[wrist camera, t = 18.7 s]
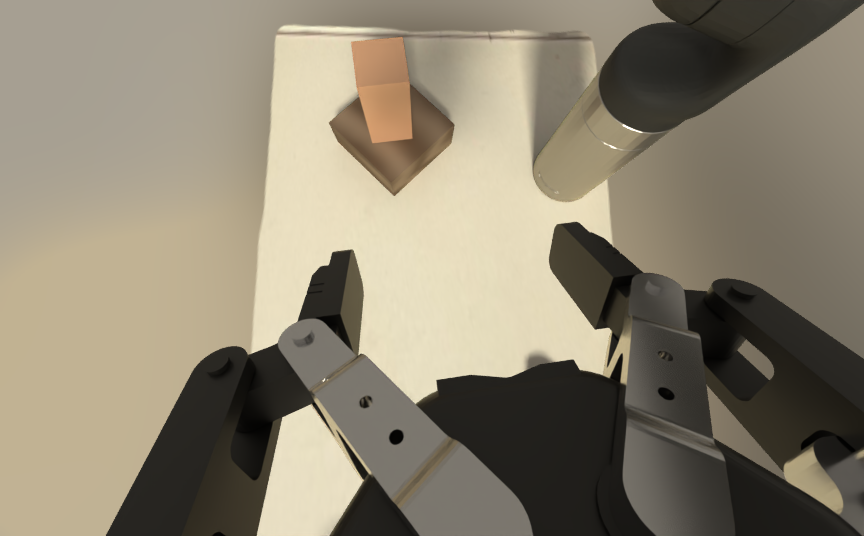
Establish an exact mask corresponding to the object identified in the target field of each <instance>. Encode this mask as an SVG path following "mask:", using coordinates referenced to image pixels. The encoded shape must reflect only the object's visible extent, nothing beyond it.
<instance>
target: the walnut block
mask: <svg viewBox="0 0 864 536" xmlns="http://www.w3.org/2000/svg"><path fill="white" fill-rule="evenodd" d="M410 100H411V120H412V139H406V140H397V141H389V142H380V143H372V140H371V136H370V133H369V129H368V126H367V122H366V119H365V115H364V111H363V108H362V104H361V101H360V97H359V98H357V99H356V100H355V101H354V102H353V103H352V104H350V105H349V106H348V107H347V108H346V109H344V110H343V111H342V112H341V113H340V114H339V115H337V116H336V117H335V118H334V119H333V120H332V121H330V122H329V124H330V126H331V128H332V130H333V132H334V134H335V136H336V139H337V141H338V142H339V143H340V144H341V145H342V146H343V147H344V148H345V149H346V150H347V151H348V152H349V153H350V154H351V155H352V156H353V157H354V158H355V159H356V160H357V161H358V162H359V163H361V164H362V165H363V166H364V167H365V168H366V169H367V170H368V171H369V172H370V173H371V174H372V175H373V176H374V177H375V178H376V179H377V180H378V181H379V182H380V183H381V184H382V185H383V186H384V187H385V188H386V189H387V190H389V191H390V192H391V193H392V194H393V195H394V196H395V195H396V194H397V193H398V192H399V191H400V190H401V189H403V188H404V187H405V186H406V185H407V184H408V183H409V182H410V181H411V180H412V179H413V178H414V177H415V176H417V175H418V174H419V173H420V172H421V171H422V170H423V169H424V168H425V167H426V166H427V165H428V164H429V163H431V162H432V161H433V160H434V159H435V158H436V157H437V156H438V155H439V154H440V153H441V152H442V151H443V150H445V149H446V148H447V147H448V146H449V145H450V144H451V142H452V136H453V130H454V124H453V123H452V122H451V121H450V120H449V119H448V118H447V117H446V116H445V115H444V114H442V113H441V112H440V111H439V110H438V109H437V108H436V107H435V106H434V105H433V104H431V103H430V102H429V101H428V100H427V99H426V98H425V97H424V96H423V95H422V94H421V93H419V92H418V91H417V90H416V89H415V88H414V87H413V86H412V85H411V84H410Z"/></svg>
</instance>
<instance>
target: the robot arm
mask: <svg viewBox="0 0 864 536" xmlns="http://www.w3.org/2000/svg"><path fill="white" fill-rule="evenodd" d="M653 3H654V4H655V6H656V7H657V8H658V9H659V10H660V11H661V12H662V13H664V14H665V15H666V16H667V17H669V18H670V19H672V20H674V21H676V22H668V23H667V22H666V23H656V24H651V25H647V26H644V27H641V28H639V29H637V30H635V31H634V32H632V33H631V34H629V35H628V36H627V37H626V38H624V39H623V40H622V41H621V42H620V43H619V45H618V46H617V47H616V48H615V50H614V51H613V53H612V54H611V55H610V56H609V58H608V59H607V61H606V62H605V64H604V65H603V67H602V68H601V69H600V71H599V72H598V73H597V75H596V76H595V77H594V79H593V80H592V82H591V83H590V84H589V86H588V87H587V89H586V90H585V92H584V93H583V94H582V96H581V97H580V98H579V100H578V101H577V103H576V104H575V105H574V107H573V108H572V109H571V111H570V112H569V114H568V115H567V116H566V118H565V119H564V121H563V122H562V123H561V125H560V126H559V127H558V129H557V130H556V132H555V133H554V134H553V136H552V137H551V138H550V140H549V141H548V142H547V144H546V145H545V147H544V148H543V149H542V151H541V152H540V154H539V155H538V156H537V158H536V160H535V163H534V167H533V174H534V179H535V181H536V184H537V186H538V187H539V188H540V190H541V191H542V192H543V193H544V194H545V195H547V196H548V197H550V198H552V199H554V200H557V201H562V202H571V201H575V200H578V199H580V198H582V197H583V196H584V195H586V194H587V193H588V192H590V191H591V190H592V189H594V188H595V187H597V186H598V185H599V184H601V183H602V182H603V181H605V180H606V179H607V178H609V177H610V176H611V175H613V174H614V173H615V172H617V171H618V170H620V169H621V168H622V167H624V166H625V165H626V164H628V163H629V162H630V161H632V160H633V159H634V158H636V157H637V156H638V155H639V154H641V153H642V152H644V151H645V150H646V149H648V148H649V147H650V146H652V145H653V144H654V143H656V142H657V141H658V140H659V139H661V138H662V137H663V136H665V135H666V134H667V133H669V132H670V131H671V130H673V129H674V128H676V127H677V126H678V125H679V124H681V123H682V122H683V121H685V120H687V119H690V118H693V117H695V116H698V115H700V114H702V113H703V112H705V111H707V110H708V109H710V108H712V107H713V106H715V105H716V104H717V103H719V102H720V101H722V100H723V99H725V98H726V97H728V96H729V95H731V94H732V93H734V92H735V91H737V90H738V89H740V88H741V87H743V86H744V85H746V84H747V83H749V82H750V81H752V80H753V79H755V78H756V77H758V76H759V75H761V74H762V73H764V72H765V71H767V70H769V69H770V68H772V67H773V66H775V65H776V64H778V63H779V62H781V61H782V60H784V59H786V58H787V57H789V56H790V55H792V54H793V53H795V52H796V51H798V50H799V49H801V48H802V47H803V46H805V45H807V44H808V43H810V42H811V41H813V40H814V39H816V38H817V37H818V36H820V35H821V34H823V33H824V32H826V31H827V30H829V29H830V28H831V27H833V26H834V25H835V24H837V23H838V22H840V21H841V20H842V19H844V18H845V17H846V16H848V15H849V14H850V13H852V12H853V11H854V10H855V9H857V8H858V7H860V6H861V5H862V4H863V3H864V0H653ZM549 264H550V268H551V270H552V272H553V274H554V275H555V276H556V278H557V279H558V280H559V282H560V283H561V284H562V286H563V287H564V288H565V290H566V291H567V292H568V294H569V295H570V296H571V298H572V299H573V301H574V302H575V303H576V305H577V306H578V307H579V309H580V310H581V311H582V313H583V314H584V315H585V317H586V318H587V319H588V321H589V322H590V324H591V325H592V326H593V328H594V329H602V328H610V329H611V333H610V336H609V340H608V346H607V352H606V358H605V365H604V371H603V375H600V374H596V373H593V372H588V371H583V370H579V368H578V366H577V365H576V363H575V361H574V360H566V361H560V362H553V363H546V364H540V365H538V366H535V367H533V368H531V369H528V370H526V371H524V372H521V373H519V374H517V375H515V376H512V377H508V378H503V377H491V376H478V375H467V376H460V377H454V378H447V379H441V380H436V381H437V390H438V391H436V392H434V393H432V394H430V395H428V396H426V397H425V398H423V399H422V400H420V401H419V402H418V403H416V404H415V403H414V402H412V401H411V400H410V399H409V398H408V397H407V396H406V395H405V394H404V393H403V392H402V391H401V390H400V389H399V388H398V387H397V386H396V385H395V384H394V383H393V382H392V381H391V380H390V379H389V378H388V377H387V376H386V375H385V374H384V373H383V372H382V371H381V370H380V369H379V368H378V367H377V366H376V365H375V364H374V363H373V362H372V361H371V360H370V359H369V358H368V357H367V356H365V355H364V354H360V355H359V356H358V352H359V341H360V330H361V319H362V308H363V297H364V292H363V284H362V279H361V276H360V272H359V268H358V264H357V260H356V257H355V253H354V251H353V250H344V251H336V252H333V253H332V256H331V260H330V264H329V265H328V266H321V267H320V268H319V269H318V270H317V271H316V272H315V273H314V274H313V275H312V278H311V281H310V284H309V286H310V287H308V291H307V295H306V297H305V300H304V303H303V306H302V309H301V312H300V315H299V318H298V322H296V323H294V324H293V325H291V326H289V327H288V328H287V329H286V330H285V331H284V332H283V333H282V334H281V336H280V338H279V341H278V343H277V344H275V345H273V346H271V347H268V348H266V349H263V350H260V351H258V352H255V353H252V354H250V355H248V354H247V352H246V351H245V350H244V349H243V348H241V347H237V346H231V347H226V348H222V349H220V350H217V351H215V352H213V353H211V354H210V355H208V356H207V357H205V358H204V359H203V360H202V361H201V362H200V363H199V364H198V365H197V366H196V367H195V368H194V370H193V372H192V373H191V375H190V377H189V379H188V381H187V383H186V385H185V387H184V389H183V391H182V392H181V394H180V396H179V398H178V400H177V402H176V404H175V406H174V408H173V409H172V411H171V413H170V415H169V417H168V419H167V421H166V423H165V425H164V426H163V428H162V430H161V432H160V434H159V436H158V438H157V440H156V442H155V444H154V446H153V447H152V449H151V451H150V453H149V455H148V457H147V459H146V461H145V462H144V464H143V467H142V468H141V470H140V472H139V474H138V476H137V478H136V480H135V481H134V483H133V485H132V487H131V489H130V491H129V493H128V495H127V497H126V498H125V500H124V502H123V504H122V506H121V508H120V510H119V512H118V514H117V516H116V517H115V519H114V521H113V523H112V525H111V527H110V529H109V531H108V533H107V534H106V536H257V531H258V526H259V522H260V517H261V513H262V508H263V504H264V499H265V494H266V490H267V485H268V481H269V476H270V472H271V467H272V462H273V458H274V453H275V449H276V444H277V439H278V435H279V430H280V426H281V421H282V417H284V416H286V415H288V414H290V413H293V412H295V411H297V410H299V409H301V408H304V407H306V406H308V405H310V404H311V406H312V407H313V409H314V410H315V411H316V413H317V414H318V416H319V417H320V419H321V420H322V422H323V423H324V424H325V426H326V427H327V429H328V430H329V432H330V433H331V434H332V436H333V437H334V439H335V440H336V442H337V443H338V445H339V446H340V448H341V449H342V451H343V452H344V454H345V456H346V457H347V459H348V460H349V462H350V464H351V465H352V467H353V468H354V470H355V471H356V472H357V474H358V475H359V477H360V478H361V480H362V481H363V483H362V485H361V486H360V488H359V489H358V491H357V493H356V494H355V496H354V497H353V499H352V501H351V502H350V504H349V505H348V507H347V509H346V510H345V512H344V513H343V515H342V517H341V518H340V520H339V521H338V523H337V525H336V526H335V528H334V529H333V531H332V533H331V534H330V536H864V359H863V358H861V357H860V356H859V355H857V354H856V353H854V352H853V351H851V350H850V349H848V348H847V347H846V346H844V345H843V344H841V343H840V342H838V341H837V340H835V339H834V338H833V337H831V336H829V335H828V334H827V333H825V332H824V331H822V330H821V329H819V328H818V327H817V326H815V325H814V324H812V323H811V322H809V321H808V320H806V319H805V318H804V317H802V316H801V315H799V314H798V313H796V312H795V311H793V310H792V309H790V308H789V307H788V306H786V305H785V304H783V303H782V302H780V301H779V300H777V299H776V298H775V297H773V296H772V295H770V294H769V293H767V292H766V291H764V290H763V289H761V288H759V287H757V286H755V285H753V284H751V283H748V282H744V281H741V280H736V279H718V280H716V281H714V282H713V283H712V285H711V287H710V288H709V290H708V291H695V290H684V289H683V288H682V287H681V285H680V284H678V283H677V282H676V281H674V280H672V279H670V278H668V277H665V276H663V275H659V274H654V273H643V272H642V271H641V270H639V268H637V267H636V266H635V265H634V264H633V263H632V262H630V261H629V260H628V259H627V258H626V257H625V256H624V255H622V254H620V252H619V251H618V250H617V249H616V248H615V247H613V246H612V245H611V244H610V243H609V242H608V241H607V240H605V239H604V238H602V237H600V236H598V235H596V234H594V233H592V232H589V231H588V230H586V229H585V228H584V227H583V226H582V225H581V224H580V223H578V222H571V223H563V224H557V225H556V227H555V229H554V234H553V239H552V245H551V250H550V255H549ZM746 339H747V340H748V341H749V342H750V343H751V344H752V345H753V346H755V347H756V348H757V349H758V350H759V351H761V352H762V353H763V354H764V355H765V356H766V357H767V358H768V359H769V360H770V361H771V363H772V364H773V367H774V376H773V377H772V379H771V380H768V379H767V378H766V377H765V376H764V375H763V374H762V373H761V372H760V371H759V370H758V369H756V368H755V367H754V366H753V365H752V364H751V363H750V362H749V361H748V360H747V359H746V358H744V356H743V355H741V354H740V353H739V352H738V351H737V350H738V348H739V347H740V346H741V345H742V343H743V342H744V341H745V340H746ZM706 384H707V386H708V387H709V388H710V389H711V390H712V391H713V392H714V394H715V395H716V396H717V397H718V398H719V399H720V400H721V402H722V403H723V404H724V405H725V406H726V407H727V408H728V409H729V411H730V412H731V413H732V414H733V415H734V416H735V417H736V419H737V420H738V421H739V422H740V423H741V424H742V425H743V427H744V428H745V429H746V430H747V431H748V432H749V433H750V435H751V436H752V437H753V438H754V439H755V440H756V441H757V442H758V444H759V445H760V446H761V447H762V448H763V449H764V450H765V452H766V453H767V454H768V455H769V456H770V457H771V459H772V460H773V461H774V462H775V463H776V464H777V465H778V466H779V468H780V469H781V470H782V471H783V472H784V475H785V478H786V480H787V481H785V480H784V479H782V478H780V477H779V476H776V475H775V474H773V473H772V472H770V471H768V470H766V469H765V468H763V467H761V466H760V465H758V464H756V463H755V462H753V461H751V460H750V459H748V458H746V457H745V456H743V455H741V454H740V453H738V452H736V451H734V450H732V449H731V448H729V447H728V446H726V445H724V444H723V443H721V442H719V441H717V440H716V439H714V438H713V434H712V426H711V418H710V410H709V402H708V394H707V387H706Z"/></svg>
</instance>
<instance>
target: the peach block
mask: <svg viewBox="0 0 864 536" xmlns="http://www.w3.org/2000/svg"><path fill="white" fill-rule="evenodd" d="M351 44H352V52H353V61H354V69H355V77H356V85H357V90H358V93H359V97H360V101H361V104H362V108H363V111H364V115H365V119H366V122H367V126H368V129H369V133H370V136H371V140H372V143H380V142H389V141H397V140H406V139H412V120H411V100H410V82H409V75H408V69H407V62H406V56H405V49H404V43H403V37H395V38H385V39H375V40H365V41H355V42H351Z"/></svg>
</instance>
